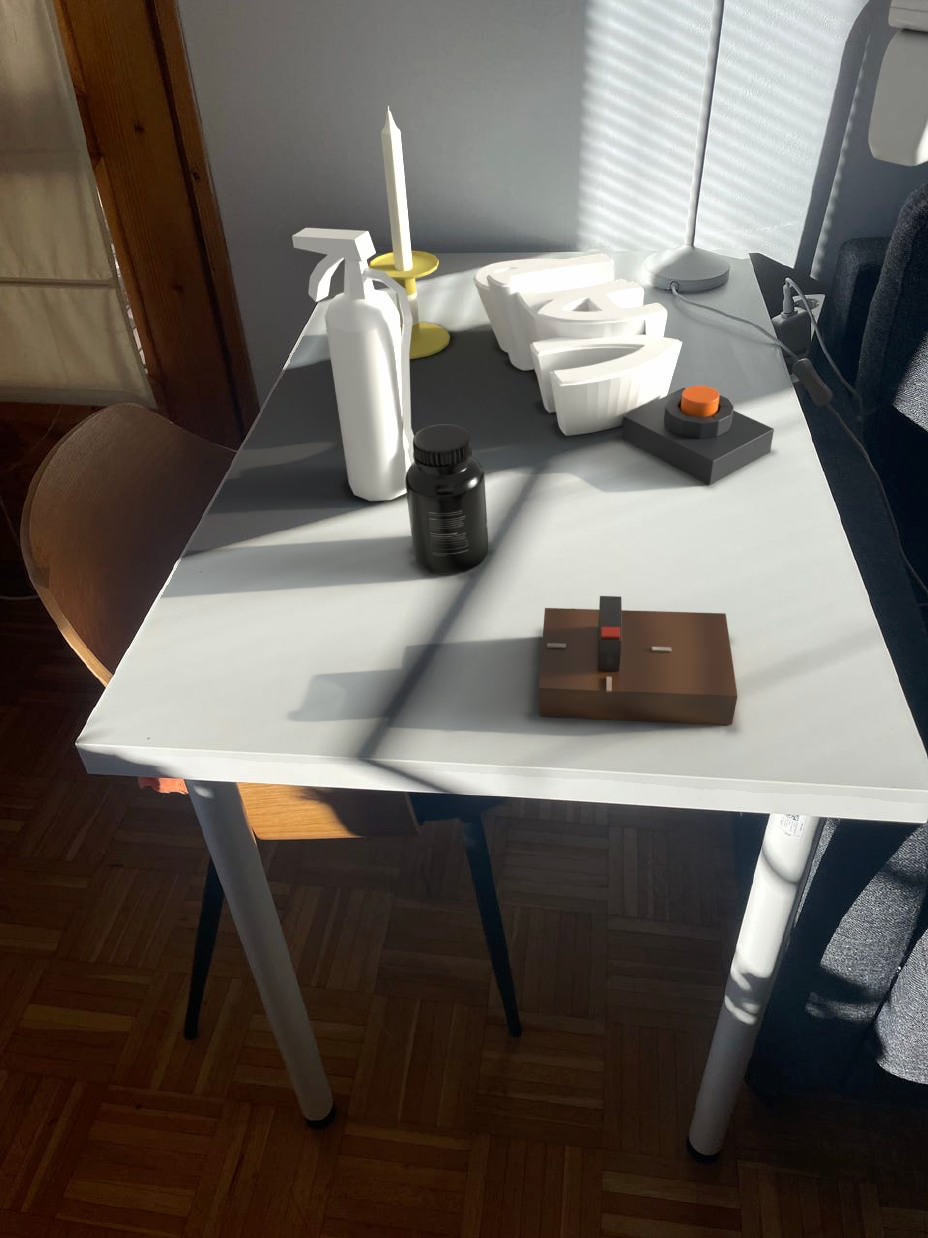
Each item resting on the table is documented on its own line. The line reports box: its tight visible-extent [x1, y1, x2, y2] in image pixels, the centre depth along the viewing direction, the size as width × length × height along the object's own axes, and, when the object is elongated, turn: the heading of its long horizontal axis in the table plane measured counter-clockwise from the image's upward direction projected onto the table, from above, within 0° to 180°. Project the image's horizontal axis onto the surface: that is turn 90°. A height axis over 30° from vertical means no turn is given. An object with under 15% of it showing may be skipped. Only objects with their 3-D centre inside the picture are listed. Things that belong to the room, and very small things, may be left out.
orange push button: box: [681, 385, 720, 417], centre depth 95 cm, size 4×4×2 cm
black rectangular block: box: [598, 595, 623, 671], centre depth 71 cm, size 5×2×3 cm, turn 173°
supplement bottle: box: [405, 423, 489, 575], centre depth 83 cm, size 7×7×12 cm
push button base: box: [621, 387, 775, 486], centre depth 97 cm, size 12×9×4 cm
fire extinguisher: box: [291, 227, 415, 502], centre depth 88 cm, size 7×12×25 cm, turn 58°
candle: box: [368, 105, 451, 360], centre depth 112 cm, size 10×10×27 cm
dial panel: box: [538, 607, 738, 726], centre depth 73 cm, size 14×9×3 cm, turn 84°
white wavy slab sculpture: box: [472, 252, 683, 437], centre depth 108 cm, size 35×16×11 cm, turn 12°
